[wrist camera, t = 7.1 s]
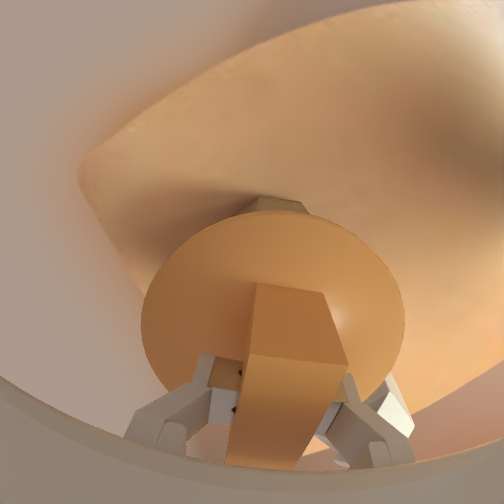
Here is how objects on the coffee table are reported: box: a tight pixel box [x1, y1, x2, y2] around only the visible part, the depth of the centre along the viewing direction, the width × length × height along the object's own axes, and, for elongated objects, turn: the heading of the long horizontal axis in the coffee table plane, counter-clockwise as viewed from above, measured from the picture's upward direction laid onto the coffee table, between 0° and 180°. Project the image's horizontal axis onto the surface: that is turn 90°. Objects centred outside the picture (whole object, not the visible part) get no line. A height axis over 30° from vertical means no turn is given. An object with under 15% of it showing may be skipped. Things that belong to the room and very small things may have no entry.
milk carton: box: [314, 372, 415, 468], centre depth 24 cm, size 7×7×19 cm
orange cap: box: [141, 211, 405, 470], centre depth 11 cm, size 11×11×7 cm
